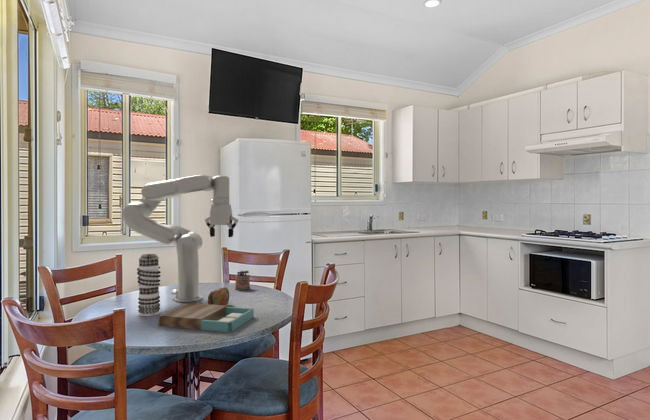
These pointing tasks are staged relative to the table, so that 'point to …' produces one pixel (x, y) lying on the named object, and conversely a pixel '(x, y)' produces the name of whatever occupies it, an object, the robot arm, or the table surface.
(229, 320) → the cream tile
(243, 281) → the lighter
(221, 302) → the tin
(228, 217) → the robot arm
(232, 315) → the cream tile
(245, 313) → the box
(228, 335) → the table surface
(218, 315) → the plate
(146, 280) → the decorative candle
